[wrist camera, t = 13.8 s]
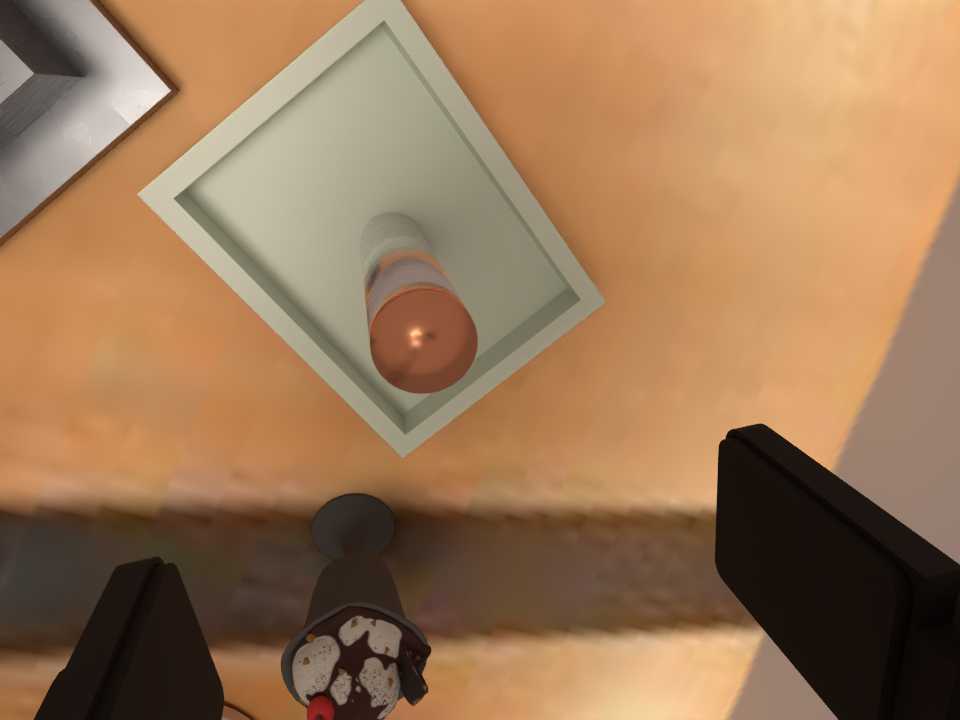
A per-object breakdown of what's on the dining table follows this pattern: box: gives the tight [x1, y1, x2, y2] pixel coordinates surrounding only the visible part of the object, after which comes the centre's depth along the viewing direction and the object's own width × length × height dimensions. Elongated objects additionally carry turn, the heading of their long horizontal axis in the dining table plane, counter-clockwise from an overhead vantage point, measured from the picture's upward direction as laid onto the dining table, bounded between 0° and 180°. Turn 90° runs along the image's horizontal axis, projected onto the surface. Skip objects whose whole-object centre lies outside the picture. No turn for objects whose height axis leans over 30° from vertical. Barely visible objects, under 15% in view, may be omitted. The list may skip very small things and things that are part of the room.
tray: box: [137, 0, 606, 458], centre depth 31 cm, size 18×14×3 cm
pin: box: [360, 212, 478, 394], centre depth 25 cm, size 3×3×14 cm
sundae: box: [281, 494, 431, 720], centre depth 31 cm, size 7×7×15 cm
